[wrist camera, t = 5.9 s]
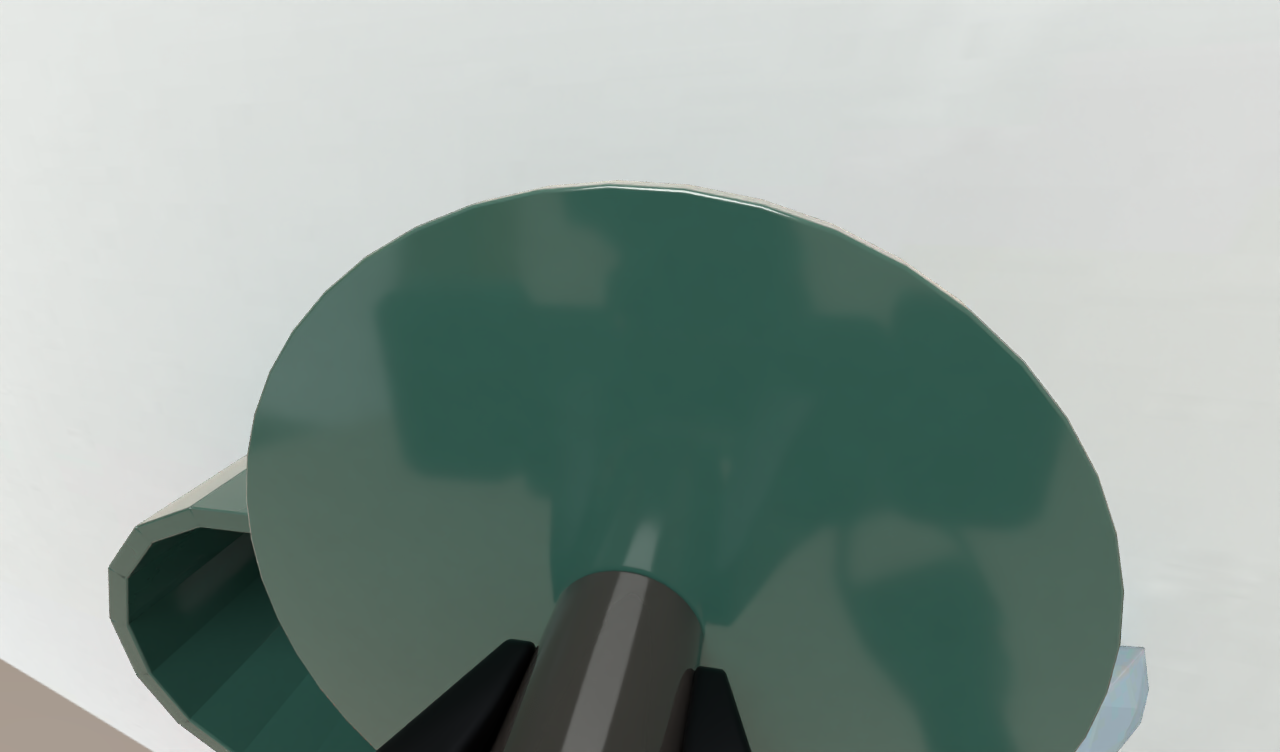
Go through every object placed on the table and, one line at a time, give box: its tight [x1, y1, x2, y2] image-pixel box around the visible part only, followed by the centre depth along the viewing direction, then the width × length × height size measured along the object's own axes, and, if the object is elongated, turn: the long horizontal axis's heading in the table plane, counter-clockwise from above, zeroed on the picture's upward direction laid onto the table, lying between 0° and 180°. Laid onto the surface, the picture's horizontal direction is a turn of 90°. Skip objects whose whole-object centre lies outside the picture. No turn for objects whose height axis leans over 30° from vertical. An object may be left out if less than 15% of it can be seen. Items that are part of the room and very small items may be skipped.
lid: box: [246, 180, 1124, 752], centre depth 8 cm, size 13×13×6 cm
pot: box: [108, 455, 377, 752], centre depth 22 cm, size 12×12×6 cm
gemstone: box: [1076, 646, 1149, 752], centre depth 20 cm, size 8×8×5 cm
